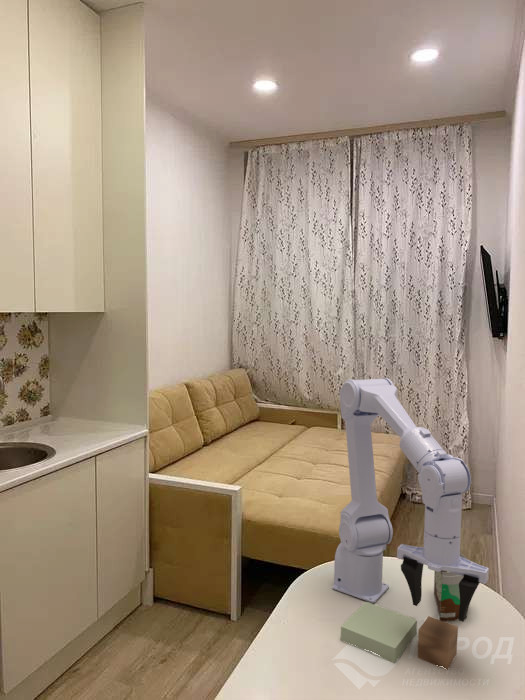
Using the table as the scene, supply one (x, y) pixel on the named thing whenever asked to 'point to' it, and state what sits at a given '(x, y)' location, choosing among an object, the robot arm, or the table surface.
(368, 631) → the sage base block
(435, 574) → the food container
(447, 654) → the walnut cube
